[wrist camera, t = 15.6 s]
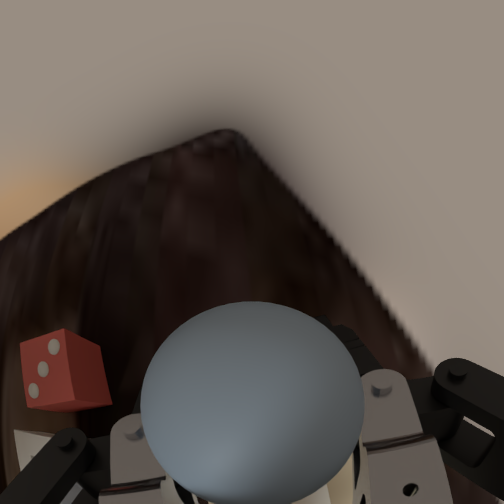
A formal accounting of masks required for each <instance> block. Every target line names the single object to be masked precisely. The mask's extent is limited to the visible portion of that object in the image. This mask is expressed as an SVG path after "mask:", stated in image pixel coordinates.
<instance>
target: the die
mask: <svg viewBox="0 0 504 504" xmlns="http://www.w3.org/2000/svg"><path fill="white" fill-rule="evenodd" d="M20 352H21V364H22V374H23V382H24V389H25V396H26V402H27V408H33V409H40V410H47V411H55V412H63V413H70V412H76V411H82V410H88V409H93V408H98V407H103V406H108V405H113V404H112V400H111V396H110V392H109V388H108V384H107V379H106V375H105V370H104V365H103V360H102V355H101V349H100V346H99V345H97V344H95V343H93V342H91V341H88V340H86V339H84V338H82V337H80V336H78V335H76V334H74V333H72V332H71V331H69V330H67V329H65V328H63V329H60V330H57V331H54V332H51V333H48V334H45V335H42V336H40V337H37V338H34V339H31V340H28V341H25V342H22V343H20Z"/></svg>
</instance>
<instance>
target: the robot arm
mask: <svg viewBox="0 0 504 504" xmlns="http://www.w3.org/2000/svg"><path fill="white" fill-rule="evenodd" d="M314 319H315V320H317V321H318V322H320V323H321V324H323V325H324V326H325V327H327V328H328V329H329V330H330V331H331V332H332V333H334V334H335V335H336V337H337V338H338V339H339V340H340V341H341V342H342V343H343V344H344V346H345V347H346V349H347V350H348V352H349V353H350V355H351V356H352V358H353V360H354V362H355V364H356V366H357V368H358V371H359V374H360V377H361V380H362V385H363V391H364V401H365V411H364V420H363V426H362V429H361V433H360V437H359V439H358V442H357V444H356V446H355V449H354V451H353V452H352V473H353V501H352V504H453V501H452V496H451V492H450V487H449V483H448V479H447V475H446V471H445V468H444V464H443V462H444V463H446V464H447V465H449V466H450V467H451V468H453V469H454V470H456V471H457V472H459V473H460V474H462V475H463V476H465V477H466V478H468V479H469V480H471V481H472V482H474V483H475V484H477V485H479V486H480V487H482V488H483V489H485V490H486V491H488V492H490V493H491V494H493V495H494V496H496V497H498V498H499V499H501V500H503V501H504V377H503V376H501V375H499V374H497V373H494V372H492V371H490V370H488V369H486V368H484V367H482V366H479V365H477V364H475V363H473V362H471V361H469V360H466V359H462V358H451V359H447V360H445V361H443V362H441V363H440V364H439V365H438V366H437V367H436V369H435V372H434V376H432V377H426V378H420V379H414V380H406V379H405V378H404V376H402V375H401V374H400V373H398V372H396V371H393V370H388V369H383V368H382V366H381V365H380V364H379V362H378V361H377V360H376V359H375V357H374V356H373V355H372V354H371V352H370V351H369V350H368V349H367V347H366V346H364V344H363V342H362V341H361V340H359V337H358V336H357V335H356V334H355V332H354V331H353V330H352V329H350V328H348V327H346V326H344V325H342V324H341V325H338V326H334V327H333V326H332V324H331V323H330V321H329V320H328V318H327V317H326V316H325V315H322V316H318V317H314ZM145 375H146V374H145ZM144 378H145V377H144ZM143 381H144V380H143ZM142 386H143V383H142ZM141 391H142V388H140V391H139V394H138V397H137V400H136V403H135V406H134V409H133V412H132V414H131V415H128V416H125V417H123V418H122V419H120V420H119V421H118V422H116V424H115V425H114V426H113V428H112V430H111V434H110V435H107V436H102V437H97V438H92V439H88V438H87V436H86V435H85V434H84V432H83V431H81V430H80V429H77V428H66V429H63V430H61V431H59V432H57V433H56V434H55V435H54V436H53V437H52V438H51V439H50V440H49V441H48V442H47V443H46V444H45V445H44V446H43V448H42V449H41V450H40V451H39V452H38V453H37V454H36V455H35V456H34V457H33V459H32V460H31V461H30V462H29V463H28V464H27V465H26V466H25V467H24V469H23V470H22V471H21V472H20V473H19V474H18V475H17V476H16V478H15V479H14V480H13V481H12V482H11V483H10V484H9V485H8V487H7V488H6V489H5V490H4V491H3V492H2V493H1V495H0V504H60V503H61V502H62V500H63V499H64V498H65V497H66V495H67V494H68V493H69V491H70V490H71V489H72V487H73V486H74V485H75V483H76V482H77V483H78V484H79V485H80V486H81V487H82V490H81V491H80V492H79V494H78V495H77V496H76V498H75V499H74V500H73V502H72V503H71V504H198V501H197V498H196V495H194V494H193V493H191V492H189V491H188V490H186V489H185V488H183V487H182V486H181V485H180V484H178V483H177V482H176V481H175V480H174V479H173V478H172V477H171V476H170V475H169V474H168V473H167V472H166V471H165V470H164V469H163V468H162V466H161V465H160V463H159V462H158V461H157V459H156V458H155V456H154V454H153V452H152V450H151V448H150V446H149V444H148V442H147V439H146V436H145V433H144V429H143V425H142V420H141V408H140V404H141ZM464 416H465V417H467V418H469V419H471V420H473V421H474V422H476V423H478V424H479V425H481V426H483V427H485V428H486V429H488V430H490V431H491V432H492V433H493V434H494V436H495V437H493V436H491V435H489V434H487V433H486V432H484V431H482V430H480V429H479V428H477V427H475V426H474V425H472V424H470V423H468V422H467V421H465V420H463V418H464Z"/></svg>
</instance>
